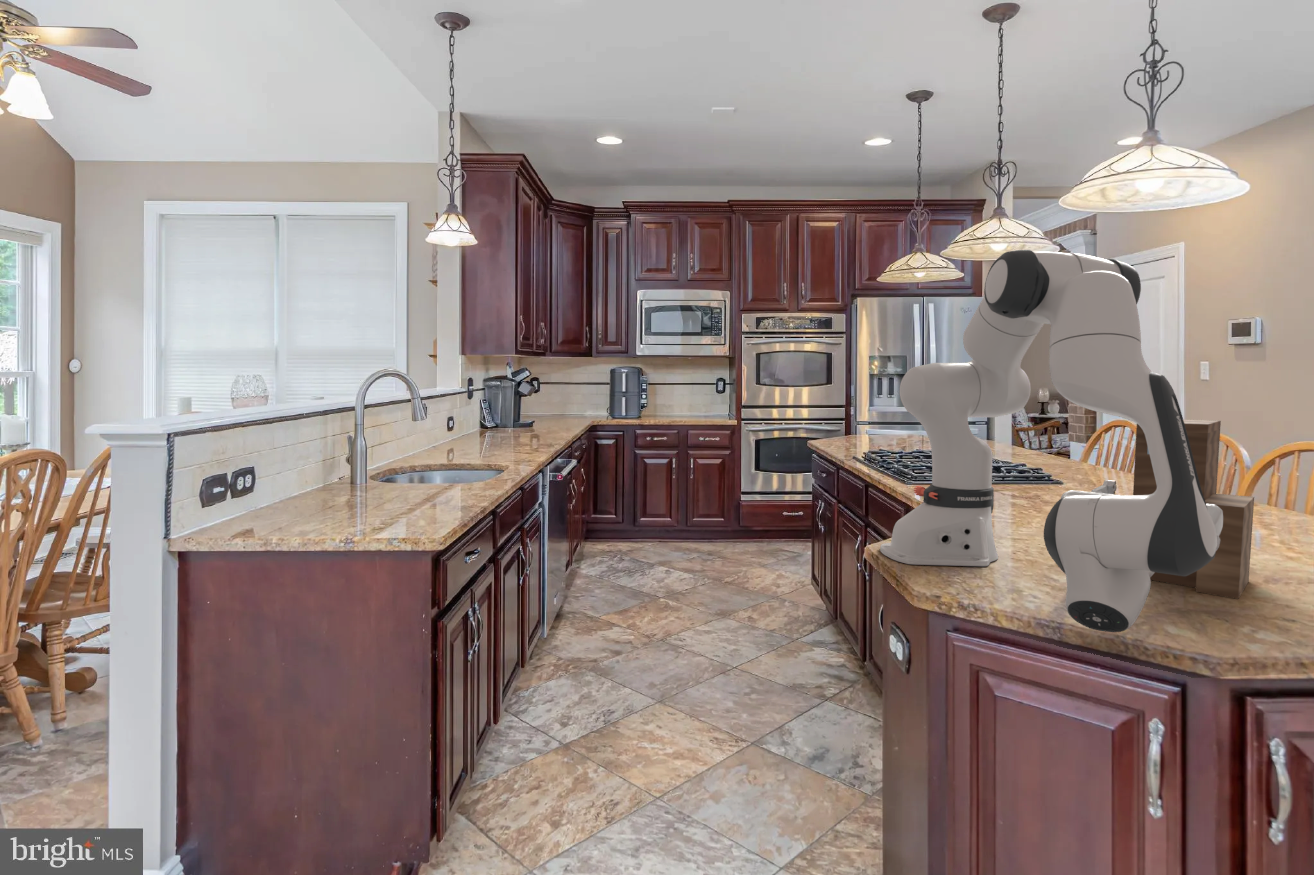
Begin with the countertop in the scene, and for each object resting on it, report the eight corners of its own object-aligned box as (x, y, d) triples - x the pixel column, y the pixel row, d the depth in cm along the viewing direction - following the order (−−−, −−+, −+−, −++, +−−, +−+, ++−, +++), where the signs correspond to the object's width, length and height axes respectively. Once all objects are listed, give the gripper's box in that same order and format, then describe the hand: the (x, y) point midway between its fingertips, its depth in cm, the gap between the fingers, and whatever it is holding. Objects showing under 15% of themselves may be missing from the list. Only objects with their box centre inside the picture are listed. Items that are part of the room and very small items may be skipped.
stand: (1238, 598, 112) (1249, 426, 109) (1125, 579, 123) (1133, 422, 120) (1250, 577, 123) (1260, 421, 121) (1146, 562, 134) (1153, 418, 132)
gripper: (1215, 537, 91) (1231, 477, 99) (1046, 516, 106) (1071, 464, 114) (1216, 573, 94) (1232, 511, 102) (1051, 547, 109) (1075, 495, 116)
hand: (1146, 486), depth 108 cm, fingers open, 8 cm apart
